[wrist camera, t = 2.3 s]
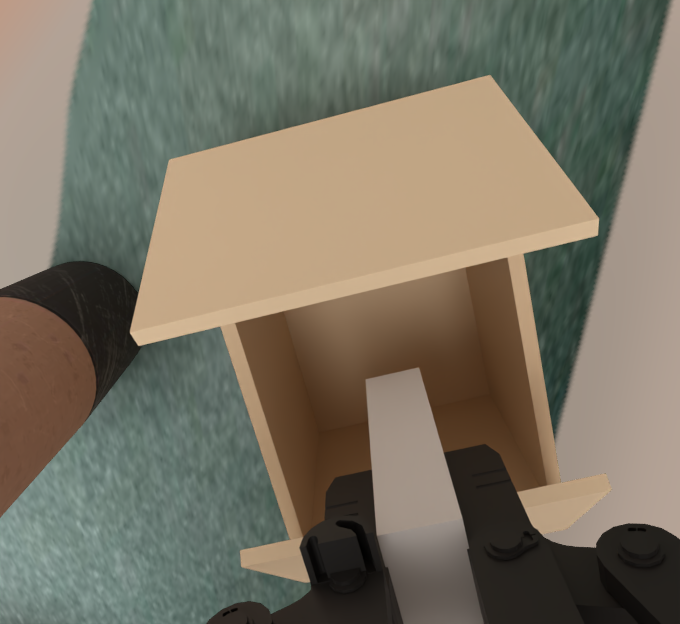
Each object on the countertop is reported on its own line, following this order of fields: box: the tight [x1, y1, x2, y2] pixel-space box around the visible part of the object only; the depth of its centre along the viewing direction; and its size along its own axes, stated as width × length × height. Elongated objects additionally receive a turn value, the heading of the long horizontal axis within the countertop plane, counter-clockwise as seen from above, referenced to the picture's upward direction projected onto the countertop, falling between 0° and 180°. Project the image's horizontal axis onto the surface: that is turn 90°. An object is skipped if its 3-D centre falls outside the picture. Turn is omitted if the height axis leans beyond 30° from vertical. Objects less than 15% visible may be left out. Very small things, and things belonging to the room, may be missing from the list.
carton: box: [220, 254, 561, 540], centre depth 30 cm, size 18×12×12 cm, turn 14°
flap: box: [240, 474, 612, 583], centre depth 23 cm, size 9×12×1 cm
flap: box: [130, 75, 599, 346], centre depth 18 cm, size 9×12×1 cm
